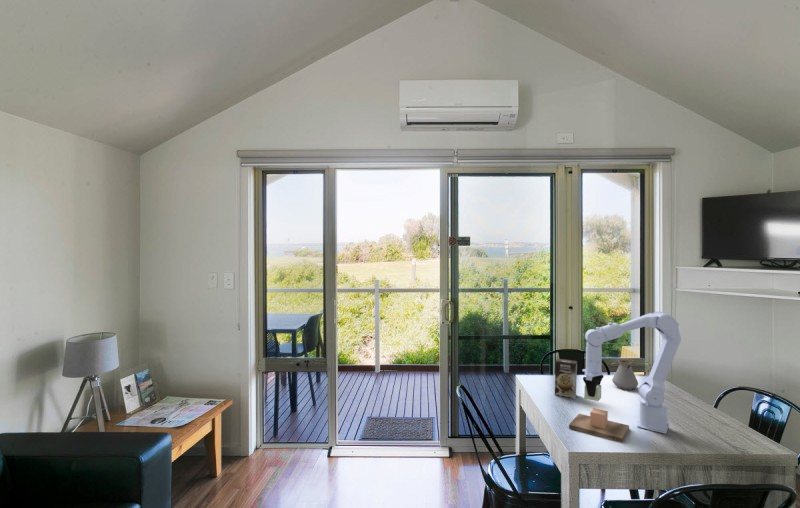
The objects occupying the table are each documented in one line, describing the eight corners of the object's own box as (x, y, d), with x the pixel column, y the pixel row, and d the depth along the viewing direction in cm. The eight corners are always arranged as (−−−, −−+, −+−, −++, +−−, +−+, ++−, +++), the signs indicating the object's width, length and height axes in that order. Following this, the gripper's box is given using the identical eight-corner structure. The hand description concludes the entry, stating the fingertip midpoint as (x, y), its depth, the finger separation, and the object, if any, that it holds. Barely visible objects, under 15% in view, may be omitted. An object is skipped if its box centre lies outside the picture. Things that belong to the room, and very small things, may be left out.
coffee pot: (611, 382, 214) (611, 353, 214) (636, 385, 210) (636, 356, 210) (615, 395, 194) (615, 363, 194) (643, 399, 190) (643, 366, 190)
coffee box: (554, 395, 193) (554, 360, 193) (556, 391, 199) (556, 357, 198) (575, 399, 189) (576, 363, 189) (576, 394, 194) (577, 360, 194)
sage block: (601, 397, 164) (601, 385, 164) (598, 401, 160) (598, 388, 160) (587, 395, 168) (588, 382, 168) (584, 398, 164) (584, 385, 164)
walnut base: (629, 429, 156) (629, 425, 156) (622, 442, 145) (622, 438, 145) (578, 417, 167) (578, 413, 167) (568, 428, 156) (569, 424, 156)
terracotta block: (607, 424, 157) (607, 411, 157) (604, 428, 153) (604, 415, 153) (593, 421, 160) (593, 408, 160) (590, 425, 156) (590, 411, 156)
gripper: (587, 355, 172) (587, 387, 172) (577, 362, 161) (577, 396, 161) (606, 358, 168) (605, 391, 168) (597, 365, 156) (596, 401, 156)
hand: (593, 394), depth 164 cm, fingers closed on sage block, 5 cm apart
